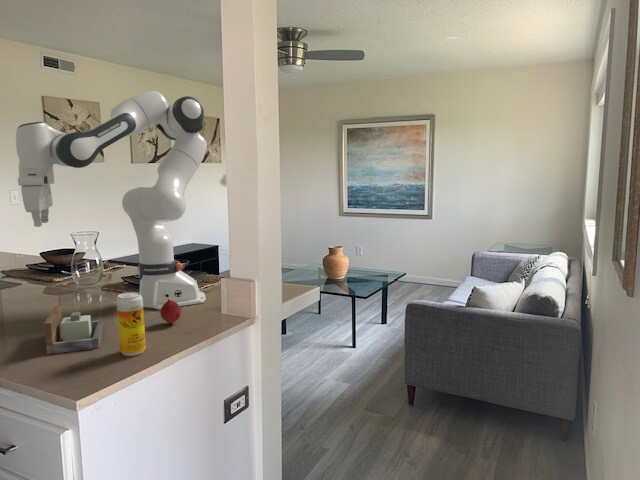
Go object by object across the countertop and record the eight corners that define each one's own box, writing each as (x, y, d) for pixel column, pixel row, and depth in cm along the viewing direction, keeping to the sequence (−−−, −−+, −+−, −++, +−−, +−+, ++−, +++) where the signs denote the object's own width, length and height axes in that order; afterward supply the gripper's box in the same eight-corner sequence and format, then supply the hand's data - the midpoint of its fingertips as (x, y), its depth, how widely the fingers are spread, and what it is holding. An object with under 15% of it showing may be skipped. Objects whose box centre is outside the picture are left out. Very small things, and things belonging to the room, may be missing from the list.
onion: (185, 321, 145) (184, 296, 144) (173, 328, 140) (172, 301, 139) (169, 319, 147) (167, 294, 146) (157, 326, 142) (155, 299, 141)
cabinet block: (92, 335, 135) (89, 309, 133) (90, 342, 130) (87, 315, 129) (66, 338, 133) (63, 312, 131) (63, 345, 128) (60, 317, 127)
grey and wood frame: (104, 327, 141) (102, 301, 139) (99, 347, 126) (96, 318, 124) (58, 332, 137) (55, 305, 135) (47, 354, 122) (43, 323, 120)
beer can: (130, 358, 119) (126, 299, 116) (115, 353, 122) (110, 296, 119) (151, 350, 124) (147, 293, 121) (135, 345, 127) (131, 290, 124)
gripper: (33, 177, 152) (37, 220, 154) (15, 179, 133) (21, 229, 135) (55, 176, 154) (59, 220, 156) (41, 179, 135) (46, 228, 137)
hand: (41, 224), depth 145 cm, fingers open, 8 cm apart
